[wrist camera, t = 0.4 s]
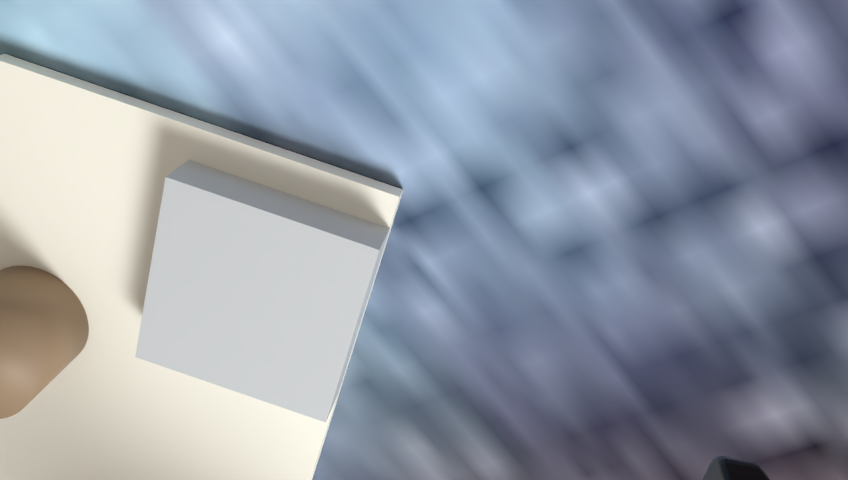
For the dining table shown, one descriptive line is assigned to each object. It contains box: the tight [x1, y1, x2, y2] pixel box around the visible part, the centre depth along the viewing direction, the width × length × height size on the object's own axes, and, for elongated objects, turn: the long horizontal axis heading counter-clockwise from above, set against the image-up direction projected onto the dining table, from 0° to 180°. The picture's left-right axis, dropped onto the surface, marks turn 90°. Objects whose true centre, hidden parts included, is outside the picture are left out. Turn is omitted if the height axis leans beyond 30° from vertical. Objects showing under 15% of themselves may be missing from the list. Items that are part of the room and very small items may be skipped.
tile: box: [0, 54, 403, 480], centre depth 24 cm, size 16×12×4 cm
